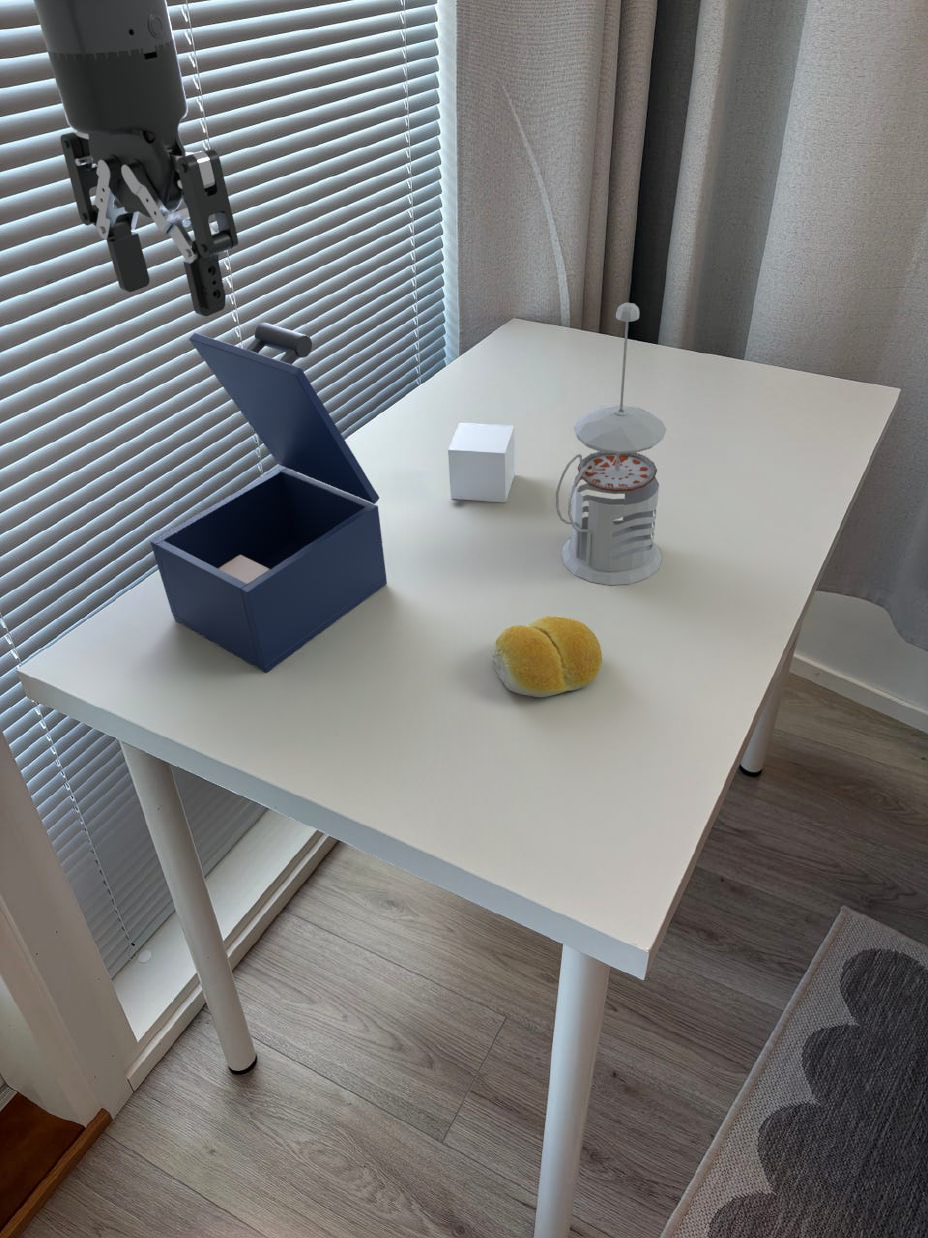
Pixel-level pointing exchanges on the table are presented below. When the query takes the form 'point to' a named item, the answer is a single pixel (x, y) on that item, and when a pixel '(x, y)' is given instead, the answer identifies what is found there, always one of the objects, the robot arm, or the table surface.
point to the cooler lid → (285, 407)
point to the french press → (615, 491)
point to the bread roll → (547, 657)
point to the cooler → (272, 565)
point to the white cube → (481, 462)
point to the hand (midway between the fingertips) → (172, 299)
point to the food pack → (244, 569)
